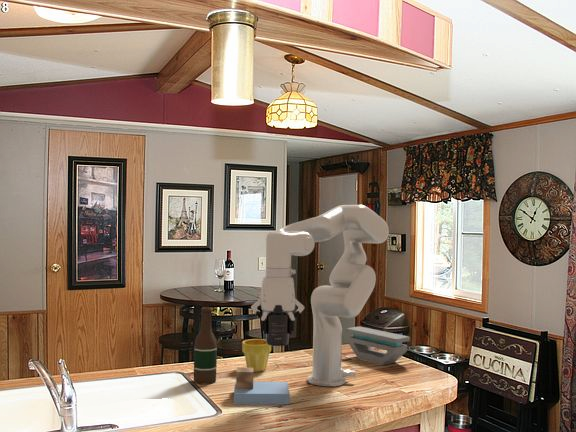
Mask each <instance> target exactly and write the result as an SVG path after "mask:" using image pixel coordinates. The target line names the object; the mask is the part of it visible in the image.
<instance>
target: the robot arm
mask: <svg viewBox="0 0 576 432" xmlns="http://www.w3.org/2000/svg"><path fill="white" fill-rule="evenodd" d="M389 233H390V229H389V225H388V224H387V222H386V220H385V219H384V218H382V217H381V216H379V214H377V213H376V212H375V211H374V210H372V209H371V208H369V207H368V206H366V205H363V204H342V205H341V204H339V205H338V206H335V207H333V208H332V209H329V210H327V211H326V212H324V213H322V214H320V215H318V216H315V217H310V218H307V219H304V220H300V221H297V222H292V223H291V224H287V225H286V226H283V227H282V228H281V227H280V229H278V230H277V231H272V232H268V233H267V234H266V238H265V277H263V278H262V280H261V281H262V283H261V291H260V298H259V299H258V300H257V301H255V302H254V303H253V304H252V305H251V306H250V308H251V311H253V312H254V313H255V315H256V316H257V317H258V319H260V321H261V332H263V334H264V335H266V334H267V321H266V316H267V314H268V313H269V312H273V310H274V307H275V305H282V309H283V312H286V313H288V315H289V335H292V331H294V329H295V328H294V327H295V326H294V325H295V323H294V322H295V320H296V319H297V317H299V315H300V314H302V312H303V311H304V310H305V306H304V305H303V304H302V303H301V302H300V301H299V300H298V299H297V298H296V293H295V292H296V290H295V281H294V278H293V277H292V276H293V275H296V274H297V272H296V271H297V270H296V269H293V268H292V256H297V257H304V256H308V255H310V254H311V253H312V252H313V251H314V249H315V243H319V242H320V243H322V242H325V241H330V240H331V239H333V238H335V237H336V236H338V235H339V234H342V235H343V241H344V251H343V254H342V255H341V257H340V258H339V259H338V261H337V263H336V265H335V266H334V267H333V269H332V270H331V273H330V275H329V278H328V279H329V280H328V281H329V284H330V285H320V286H317V287H316V288H314V289H313V291H312V293H311V296H310V304H311V310H312V311H311V312H312V319H313V322H312V323H313V334H312V335H313V336H312V371H311V374H310V375H308V376H307V382H308V383H309V384H311V385H314V386H319V387H339V386H343V385H344V384H345V383H347V380H346V377H350V378H356V376H357V375H356V374H357V373H356V371H355V370H350V369H344V368H343V367H342V352H343V351H342V345H343V343H342V342H343V325H342V322H341V320H340V318H345V319H354V318H355V317H358V316H359V314H360V313H361V311H362V310H363V308H364V306H365V304H366V303H367V301H368V299H369V298H370V296H371V295H372V293H373V292H374V288H375V286H376V282H377V281H376V280H377V279H376V278H377V276H376V272H375V270H374V268H373V267H372V266H370V265H367V264H366V263H367V261H368V258H367V254H366V251H365V249H364V247H363V244H383V243H384V242H386V241H387V239H388V238H389ZM296 306H297V309H296ZM258 307H260V308H261V310H262V312H261V311H260V310H259V309H258ZM295 309H296V310H295Z"/></svg>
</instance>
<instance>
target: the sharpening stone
mask: <svg viewBox="0 0 576 432" xmlns="http://www.w3.org/2000/svg"><path fill="white" fill-rule="evenodd" d="M345 332H346V333H347V334H348V333H349V334H352V335H353V336H348V337H347V344H348V345H349V346H350V348H351V349H352V351H353V353H354V355H355V356H356V358H357V359H358V360H360V361H362V362H363V361H364V362H366V363H367V362H368V363H371V364H375V365H379V366H385V365H389V364H394V363H396V362H397V361H398V360H399V359H400V358H401V357H402V356H403V355H404V354H406V353H407V352H408V344H403V343H406V342H407V343H408V342H410V341H411V337H410V336H408V335H403V334H398V333H393V332H388V331H384V330H380V329H376V328H375V329H373V328H370V327H365V326H360V325H359V326H354V327H347V328H345ZM373 348H374V349H373ZM375 349H379V350H375ZM381 350H383V351H381ZM385 351H386V352H385Z"/></svg>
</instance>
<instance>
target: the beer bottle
mask: <svg viewBox="0 0 576 432" xmlns="http://www.w3.org/2000/svg"><path fill="white" fill-rule="evenodd" d="M200 311H201V319H200V329H199V332H198V334H197V335H196V338H195V340H194V347H193V348H194V349H193V382H194V383H195V384H197V385H211V384H214V383H216V381H217V362H218V360H217V359H218V358H217V356H218V344H217V339H216V336H215V334H214V333H213V327H212V325H213V324H212V312H213V309H212V307H211V306H203V307H201V310H200Z"/></svg>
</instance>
